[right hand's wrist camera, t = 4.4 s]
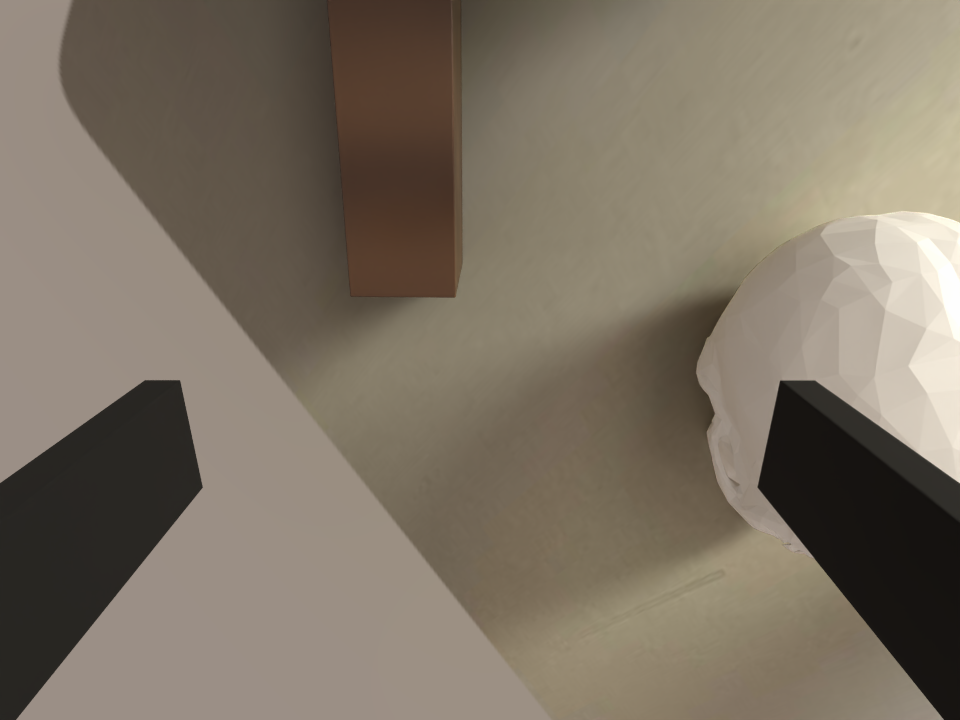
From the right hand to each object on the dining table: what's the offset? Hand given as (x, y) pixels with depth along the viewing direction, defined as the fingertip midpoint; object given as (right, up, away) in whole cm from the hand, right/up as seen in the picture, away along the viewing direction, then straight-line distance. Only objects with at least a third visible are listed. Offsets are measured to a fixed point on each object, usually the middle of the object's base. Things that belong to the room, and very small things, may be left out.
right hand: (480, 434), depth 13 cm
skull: (+19, +1, +24) cm, 31 cm away
